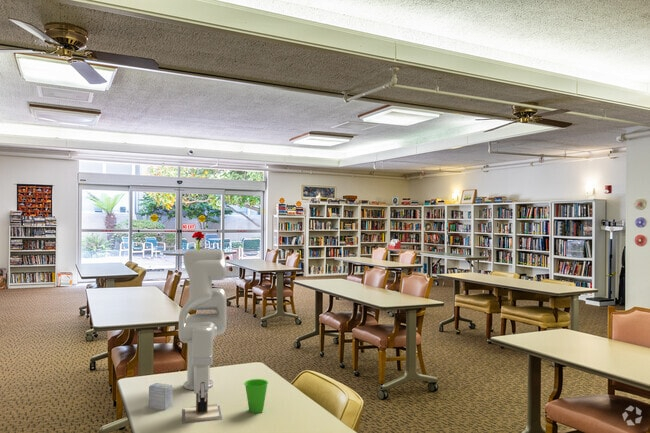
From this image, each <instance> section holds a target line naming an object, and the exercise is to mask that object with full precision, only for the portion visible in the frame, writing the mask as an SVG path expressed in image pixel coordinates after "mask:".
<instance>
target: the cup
mask: <svg viewBox="0 0 650 433" xmlns="http://www.w3.org/2000/svg"><path fill="white" fill-rule="evenodd" d="M268 384H269V381H268V380H266V379H264V378H263V379H262V378H252V379H248V380H245V382H244V383H243V385H244V386H245V391H246V392H245V393H246V401H247V407H248V411H249V413H252V414H262V413H263V411H264V406H265V400H266V395H267V388H268Z"/></svg>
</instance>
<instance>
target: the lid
mask: <svg viewBox="0 0 650 433" xmlns="http://www.w3.org/2000/svg"><path fill="white" fill-rule="evenodd" d="M204 392H205V391H204ZM200 393H201V391H200ZM208 393H209V392H208ZM208 393H206V400H207V411H206V412H200V413H198V393H196V394H195V395H196V396H195V398H196V399H195V406H194V405H193V406H184V409H185V422H194V421H203V420H212V419H219V411H218V406H219V405H218V404H217V403H214V404H209V399H208V398H209V396H208V395H209V394H208ZM204 395H205V394H204ZM200 396H201V395H200Z"/></svg>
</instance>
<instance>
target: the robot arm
mask: <svg viewBox="0 0 650 433" xmlns="http://www.w3.org/2000/svg"><path fill="white" fill-rule="evenodd" d="M225 256H226V255H225V253H224V251H223V250H222V249H193V250H191V249H190V250H187V251H185V252H184V254H183V259H182V260H183V264H184V265H183V266H184V267H185V271H186V272H187V275H188V279H189V280H188V281H189V290H188V291H189V293H188V296H189V297H188V300H187V301H186V302H185V303H184V305H183V306H182V308H181V309H180V312H179V314H178V332H177V333H178V339H179V341H180V342H181V343H183V344H187V368H186V369H187V372H186V376H187V379H186V380H187V381H185V382H184V383H183V388H184V389H186V390H189V391H193V392H194V395H196V393H198V413H200V412H206V411H207V400H206V393H209V388H212V386H213V385H214V381H213V380H212V379H210V377H211V374H210V373H211V370H210V369H211V365H213V363H214V362H213V356H214V355H213V354H214V353H213V350H214V347H213V345H214V342H213V341H214V340H215V338H216V337H217V335H221V334H222V335H223V334H224V333H226V330H227V315H228V314H227V294H226V291H225V290H224V288H222V287H213V284H212V282H213V281H222V280H223V281H224V280H225V279H226V277H227V270H228V269H227V262H226V257H225ZM192 310H193V311H215V312H200V313H199V312H198V313H191V315H189V316H188V313H190V311H192ZM200 391H201V393H200ZM204 391H205V392H204ZM204 394H205V395H204ZM200 395H201V396H200Z"/></svg>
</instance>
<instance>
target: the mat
mask: <svg viewBox="0 0 650 433" xmlns="http://www.w3.org/2000/svg"><path fill="white" fill-rule="evenodd" d="M217 406H218V411H219V419H212V420H203V421H194V422H185V408H182V410H181V422H182V423H181V424H182V425H184V424H194V423H204V422H212V421H214V422H215V421H222V420H223V415H222V411H221V410H222V409H221V407H220V405H217Z"/></svg>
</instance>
